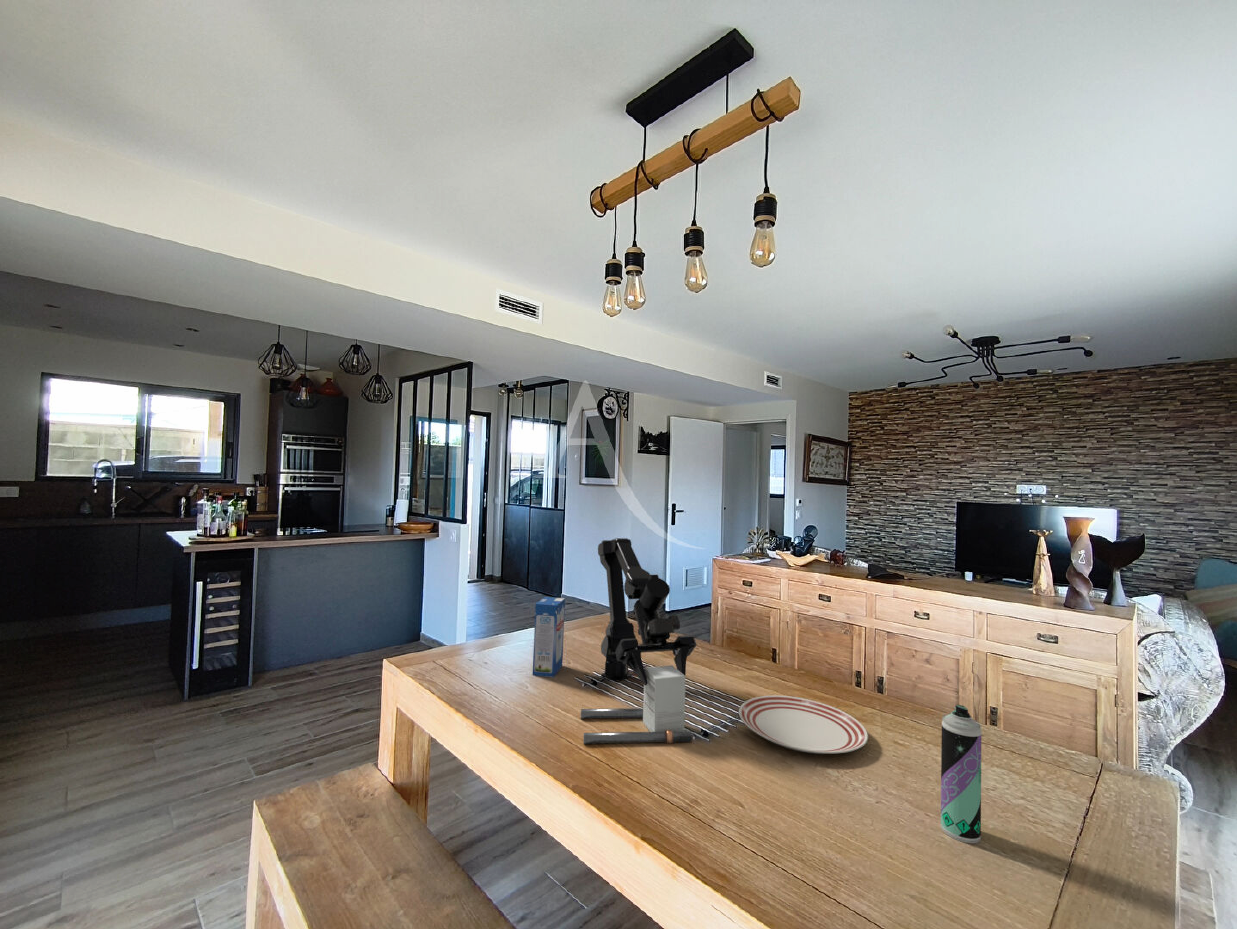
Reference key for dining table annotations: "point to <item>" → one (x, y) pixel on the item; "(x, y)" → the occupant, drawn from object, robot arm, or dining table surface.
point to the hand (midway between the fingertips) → (665, 683)
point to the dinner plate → (803, 724)
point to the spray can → (961, 776)
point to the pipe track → (629, 737)
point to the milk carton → (548, 636)
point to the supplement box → (664, 699)
